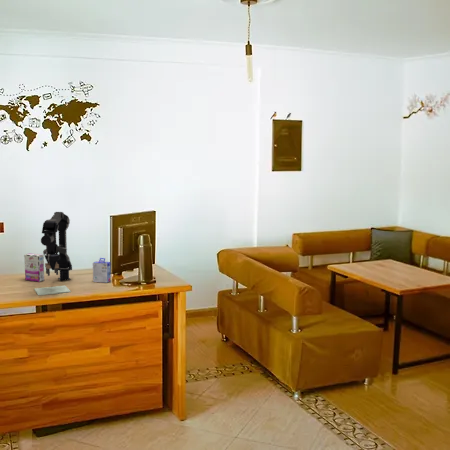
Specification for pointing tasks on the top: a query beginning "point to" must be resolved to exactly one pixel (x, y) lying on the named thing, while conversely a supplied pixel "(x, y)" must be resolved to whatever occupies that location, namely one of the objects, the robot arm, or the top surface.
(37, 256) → the candy bar box
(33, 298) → the top surface
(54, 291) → the felt mat
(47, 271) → the walnut stool
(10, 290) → the top surface
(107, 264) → the ink cartridge box
